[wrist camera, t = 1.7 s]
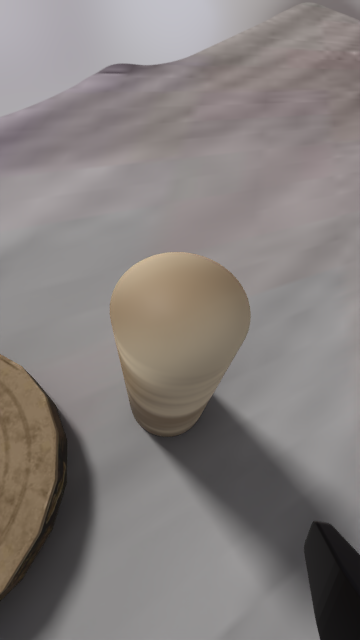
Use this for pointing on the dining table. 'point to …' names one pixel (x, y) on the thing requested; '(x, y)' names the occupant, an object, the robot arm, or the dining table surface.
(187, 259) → the dome-topped beige peg
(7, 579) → the ringed beige coaster
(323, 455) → the dining table surface
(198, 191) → the dining table surface
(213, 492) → the dining table surface
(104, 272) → the dining table surface
